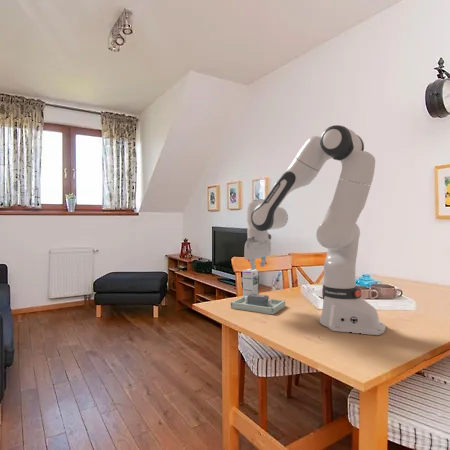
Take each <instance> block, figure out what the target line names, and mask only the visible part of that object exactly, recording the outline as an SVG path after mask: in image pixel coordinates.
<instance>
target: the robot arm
mask: <svg viewBox="0 0 450 450" xmlns="http://www.w3.org/2000/svg"><path fill="white" fill-rule="evenodd" d="M330 159H333V160H335V161H339V162H340V163H341V172H340V175H339V179H338V181H337V185H336V189H335V192H334V194H333V198H332V201H331V204H330V205H329V206H328V209H327V211H326V214H325V216H323V217H324V218H323V219H322V222H321V223H320V225H319V226H318V227H317V229H316V234H315V235H316V240H317V242H318V243H319V245H321V246H322V247H324V248H325V249H327V252H326V256H325V260H324V262H323V285H322V287H321V288H322V300H323V301H322V308H321V314H320V318H319V320H318V321H319V323H320V325H322V326H324V327H326V328H328V329H329V330H330V331H333V332H341V333H349V332H352V333H351V334H359V333H361V335H369V336H370V335H371V336H379V335H382V334H384V333H385V332H386V329H387V326H386V324H385V323H384V322H383V321H381V320H380V319H379V313H378V311H377V310H376V308H375V307H374V306H373V305H372V304H370V303H369V302H367V301H366V300H365V298H364V299H363V298H362V288H361V287H360V288H359V287H358V286H356V263H357V256H358V249H359V240H360V237H361V230H360V227H359V225H358V224H357V221H358V219H359V217H360V215H361V213H362V211H363V210H364V208H365V206H366V204H367V200H368V196H369V193H370V190H371V187H372V182H373V181H374V180H373V179H374V176H375V175H374V174H375V169H376V157H375V156H374V155H373V153H370V152H369V151H365V143H364V141H363V139H362V137H360V135H358V134H357V133H356V132H355V131H354V130H352V129H350V128H348V127H345V126H344V125H336V124H335V125H332V126H329V127H327V128H326V129H324V130H323V132H322V134H321V135H313V136H310V137H309V138H308V139H307V140H306V141H305V143H304V144H303V145H302V146H301V147H300V148H299V150H298V152H297V154H296V155H295V157H294V158H293V160H292V161H291V163H290V164H289V166H288V167H287V169H286V170H285V171H284V173H282V174H281V176H279V178H278V179H277V181H276V182H275V184H273V186H272V188H271V189H270V190H269V192H268V194H267V195H266V197H264V199H263V198H262V199H254V200H251V201H250V202H248V203H247V204H248V205H247V207H246V208H247V209H246V222H247V230H246V231H247V233H246V234H247V240H246V242H245V244H244V251H243V252H244V253H243V255H244V256H243V257H244V259H245V260H247V261H248V260H249V261H248V262H249V264H250V269H252V270H255V269H257V265H256V260H257V259H260V264H259V265H260V267H265V266H266V260H267V257H268V256H270V255H271V251H272V249H271V248H272V247H271V246H272V245H271V244H272V242H271V240H272V234H271V233H269V232H268V231H269V230H277V229H281V228H283V227H285V226H286V225H287V223H288V221H289V216H288V215H289V214H288V213H287V211H286V209H285V208H283V207H281V206H280V205H282V202H283V201H284V200H285V198H286V197H287V196H288V195H289V194H290V193H291V192H293V191H295V190H297V189H299V188H302V187H305V186H308V185H309V184H311V183H312V182H313V180H315V178H316V177H317V176H318V174H319V172H320V171H321V169H322V168H323V166H324V165H325V163H326V162H327V161H328V160H330Z"/></svg>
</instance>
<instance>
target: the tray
mask: <svg viewBox="0 0 450 450" xmlns="http://www.w3.org/2000/svg"><path fill="white" fill-rule="evenodd" d="M285 307H286V300H282V299H276V298H269V299H268V305H267V306H266V307H264V306H256V305H249V304H248V296H244V297H243V296H242V297H239V298H238V299H235V300H233V301H231V302H230V309H235V310H240V311H241V310H243V311H246V312H255V313H261V314H268V315H274V314H277V312H279V311H280V310H282V309H284V308H285Z"/></svg>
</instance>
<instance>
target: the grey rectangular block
mask: <svg viewBox="0 0 450 450" xmlns="http://www.w3.org/2000/svg"><path fill="white" fill-rule="evenodd" d="M268 299H270V297H269V295H266V294H260V293H259V294H251V295H249V296H248V304H249V305H256V306H264V307H266V306H267V305H268Z"/></svg>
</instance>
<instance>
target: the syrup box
mask: <svg viewBox="0 0 450 450" xmlns="http://www.w3.org/2000/svg"><path fill="white" fill-rule="evenodd" d="M259 286H260V285H259V269H257V268H256V269H255V270H252V269H251V268H248V269H244V270H242V297H244V296H249V295H251V294H260V290H259V289H260V287H259Z"/></svg>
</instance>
